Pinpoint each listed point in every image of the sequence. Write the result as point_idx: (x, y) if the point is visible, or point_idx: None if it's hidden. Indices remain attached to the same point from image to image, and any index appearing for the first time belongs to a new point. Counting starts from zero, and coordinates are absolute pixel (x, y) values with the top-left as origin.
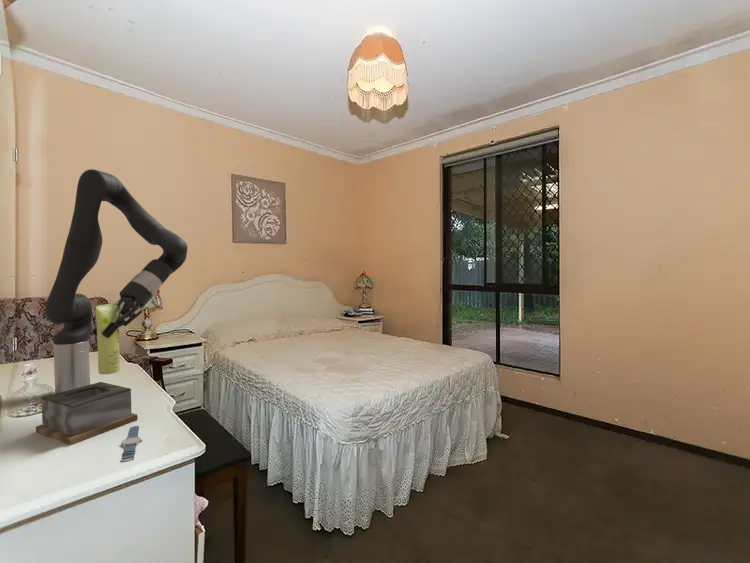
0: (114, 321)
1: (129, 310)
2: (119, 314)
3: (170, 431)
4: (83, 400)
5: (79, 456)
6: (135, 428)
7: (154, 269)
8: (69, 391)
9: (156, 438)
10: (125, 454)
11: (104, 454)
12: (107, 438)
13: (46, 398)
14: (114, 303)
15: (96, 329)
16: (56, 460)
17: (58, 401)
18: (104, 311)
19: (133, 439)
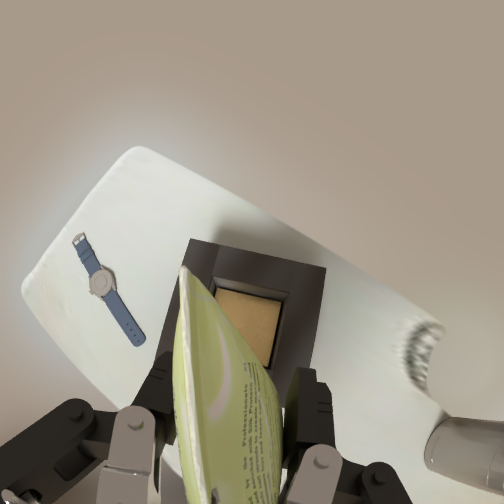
0: (125, 411)
1: (8, 474)
2: (103, 475)
3: (71, 333)
4: (195, 271)
5: (149, 232)
6: (132, 334)
7: None
8: (303, 319)
9: (76, 305)
10: (86, 247)
11: (117, 245)
12: (154, 292)
13: (304, 264)
14: None
15: (297, 390)
16: (172, 216)
17: (251, 253)
18: (174, 399)
19: (99, 286)
